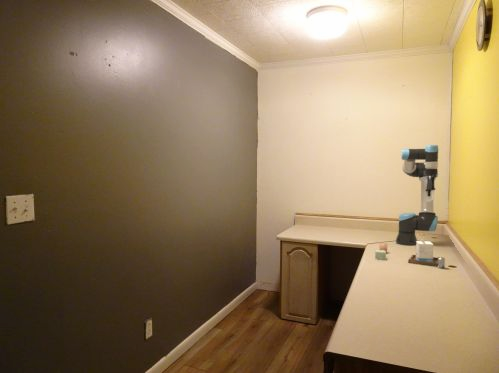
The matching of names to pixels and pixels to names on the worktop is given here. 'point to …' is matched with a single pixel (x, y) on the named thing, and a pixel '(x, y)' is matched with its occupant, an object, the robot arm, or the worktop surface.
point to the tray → (414, 261)
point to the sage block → (380, 254)
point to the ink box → (424, 251)
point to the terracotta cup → (383, 247)
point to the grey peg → (441, 262)
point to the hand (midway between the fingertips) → (430, 200)
